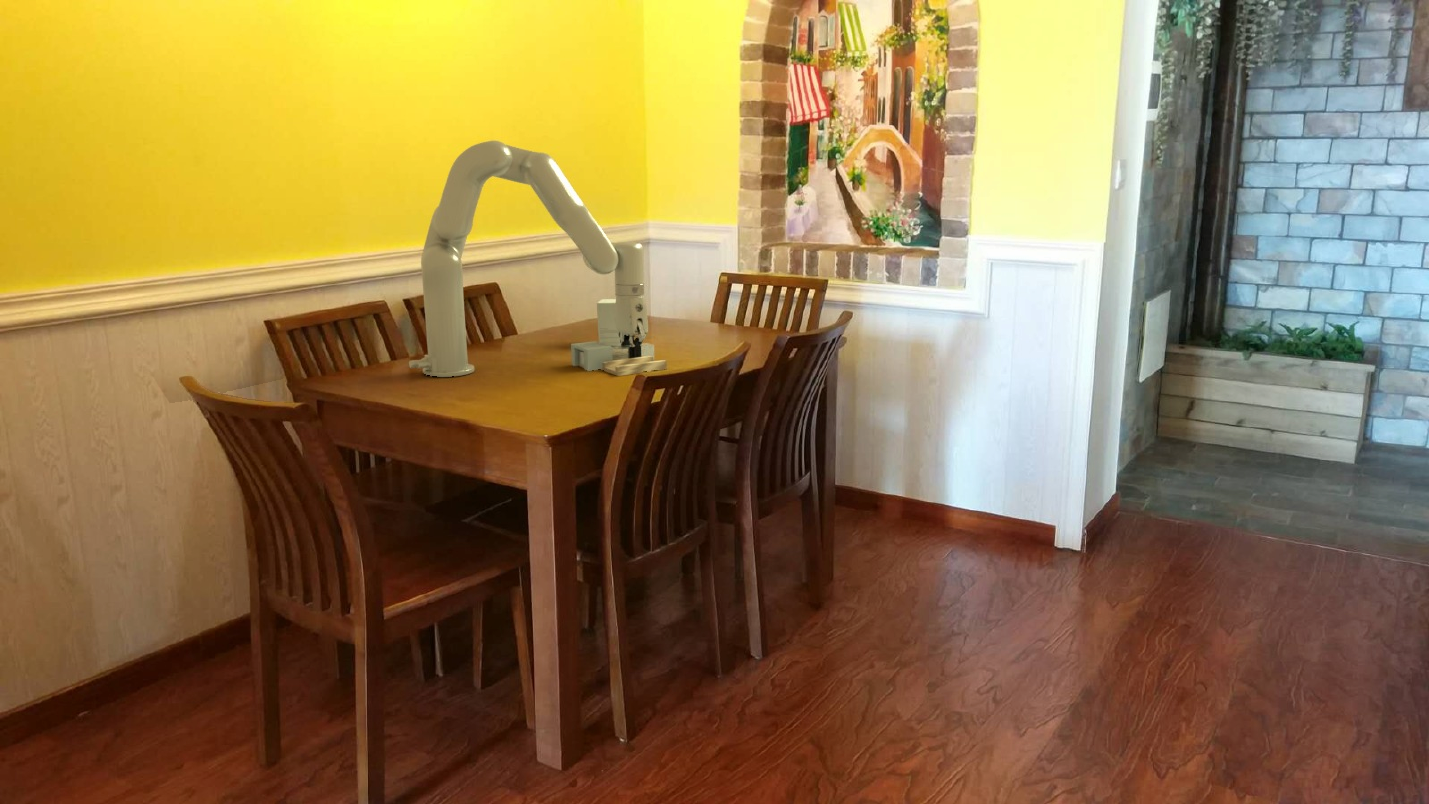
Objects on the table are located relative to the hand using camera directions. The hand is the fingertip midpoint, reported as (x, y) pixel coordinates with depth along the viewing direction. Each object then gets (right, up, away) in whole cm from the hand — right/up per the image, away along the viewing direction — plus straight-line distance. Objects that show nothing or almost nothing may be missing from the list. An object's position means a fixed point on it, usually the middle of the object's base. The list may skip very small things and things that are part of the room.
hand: (631, 359), depth 273 cm
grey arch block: (-10, -2, -6) cm, 12 cm away
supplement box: (-7, +5, +24) cm, 25 cm away
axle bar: (-3, -1, -2) cm, 4 cm away
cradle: (+2, -3, -10) cm, 11 cm away
